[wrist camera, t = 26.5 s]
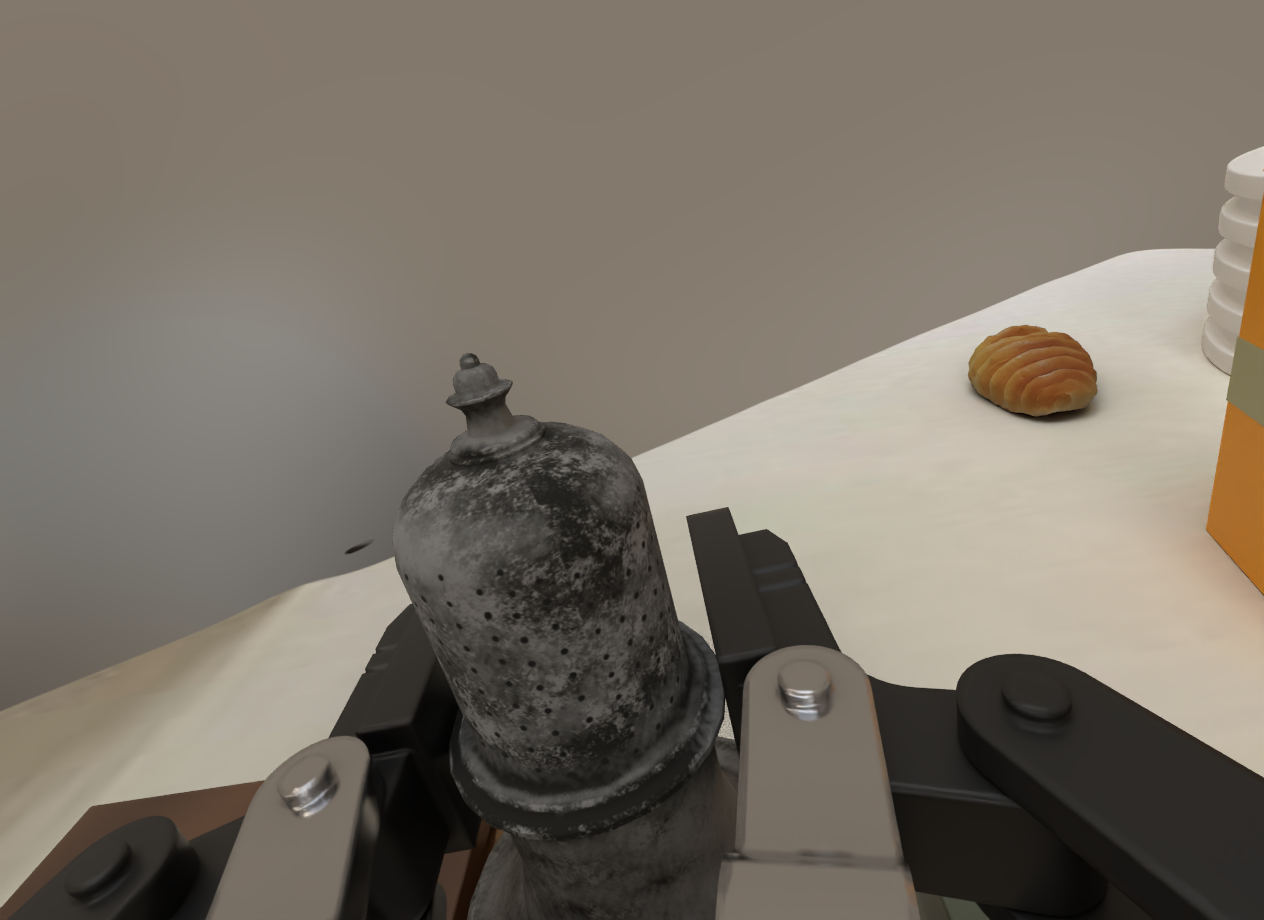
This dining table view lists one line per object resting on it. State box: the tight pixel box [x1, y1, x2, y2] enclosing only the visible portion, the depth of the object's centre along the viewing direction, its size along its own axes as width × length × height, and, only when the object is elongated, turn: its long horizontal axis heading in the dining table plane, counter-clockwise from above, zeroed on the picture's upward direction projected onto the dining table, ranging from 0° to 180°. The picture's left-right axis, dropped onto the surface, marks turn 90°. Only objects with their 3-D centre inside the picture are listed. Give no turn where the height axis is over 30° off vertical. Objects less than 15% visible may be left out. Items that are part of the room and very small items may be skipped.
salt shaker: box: [392, 353, 740, 920], centre depth 8 cm, size 6×6×12 cm
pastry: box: [968, 325, 1098, 416], centre depth 41 cm, size 9×7×4 cm
